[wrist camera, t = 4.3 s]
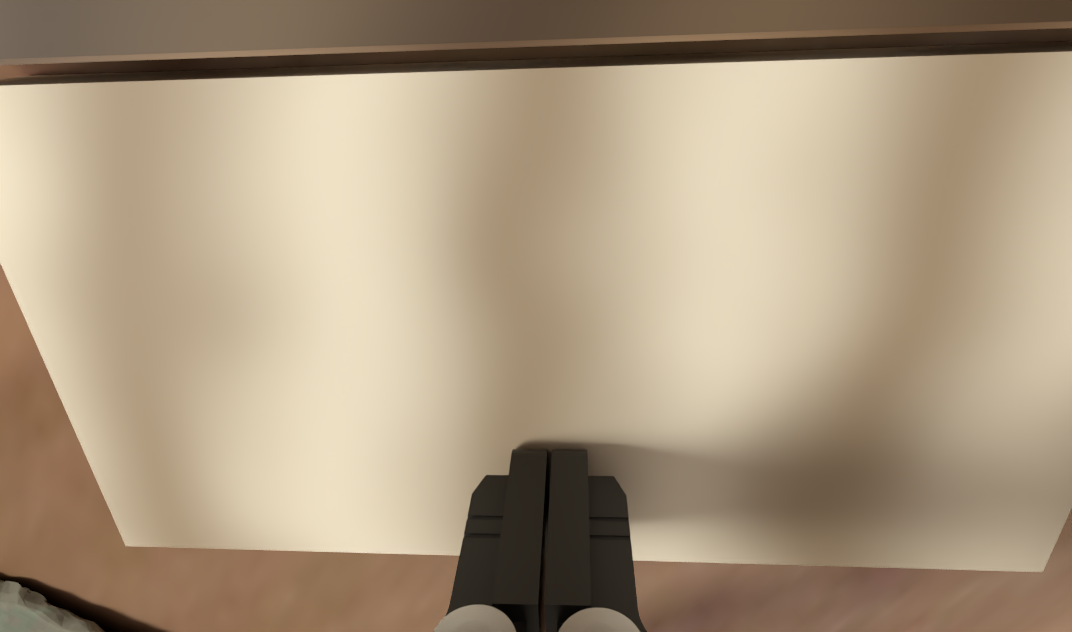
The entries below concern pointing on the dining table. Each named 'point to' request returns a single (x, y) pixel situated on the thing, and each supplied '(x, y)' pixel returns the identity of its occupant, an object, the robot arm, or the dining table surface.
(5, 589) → the stone slab
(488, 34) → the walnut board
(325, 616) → the dining table surface
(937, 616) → the dining table surface
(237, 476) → the ash plank
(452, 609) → the robot arm
